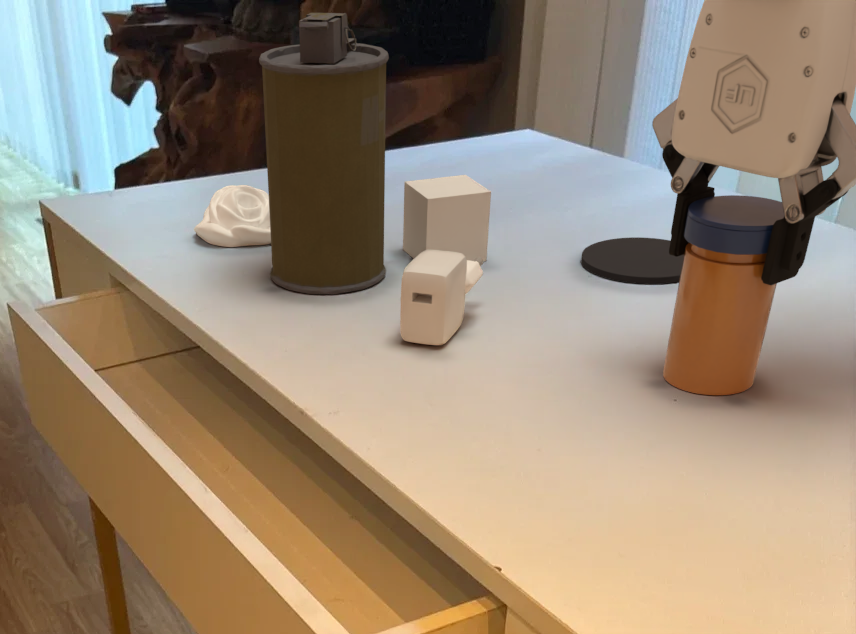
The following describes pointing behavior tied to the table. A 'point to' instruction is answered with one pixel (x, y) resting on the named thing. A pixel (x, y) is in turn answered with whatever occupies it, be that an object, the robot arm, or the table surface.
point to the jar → (718, 322)
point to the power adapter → (436, 295)
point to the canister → (326, 158)
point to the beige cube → (446, 216)
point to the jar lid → (732, 223)
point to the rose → (236, 217)
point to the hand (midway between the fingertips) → (731, 263)
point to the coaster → (633, 260)
